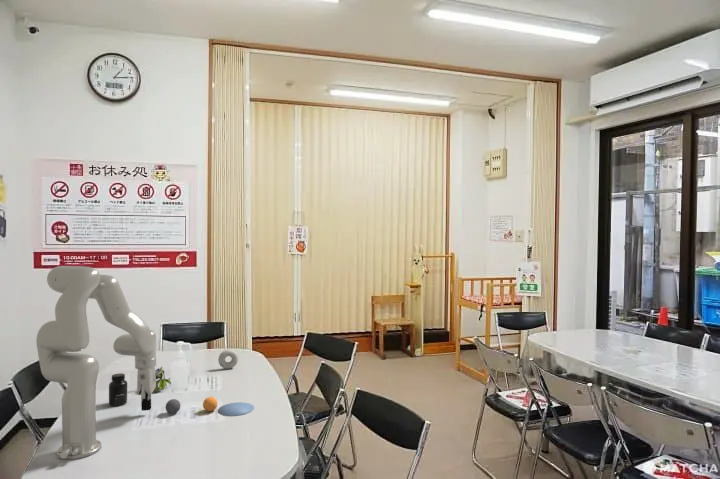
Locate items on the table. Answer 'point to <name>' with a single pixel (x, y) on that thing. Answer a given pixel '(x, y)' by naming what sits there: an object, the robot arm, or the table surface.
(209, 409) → the object ball
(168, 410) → the dark gray ball
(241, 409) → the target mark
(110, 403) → the supplement bottle
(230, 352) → the donut
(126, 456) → the table surface
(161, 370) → the passion flower
